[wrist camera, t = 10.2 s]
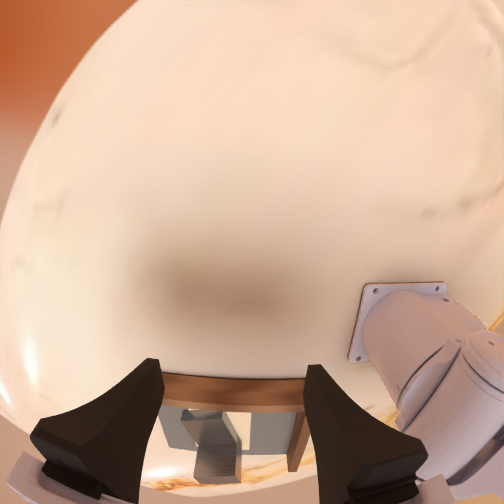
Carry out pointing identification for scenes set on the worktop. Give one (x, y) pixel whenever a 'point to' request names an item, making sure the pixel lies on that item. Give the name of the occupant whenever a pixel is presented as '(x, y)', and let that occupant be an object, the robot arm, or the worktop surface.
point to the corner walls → (243, 402)
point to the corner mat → (246, 425)
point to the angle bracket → (214, 446)
